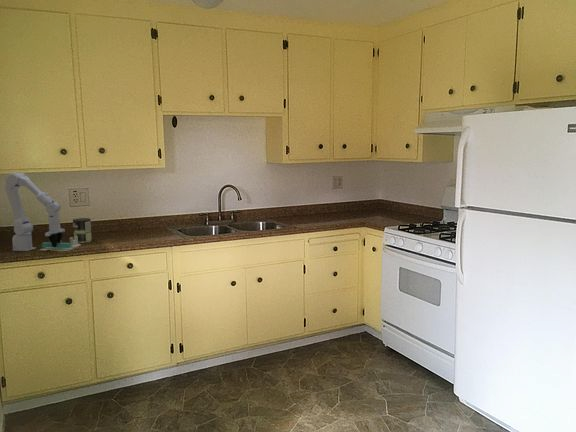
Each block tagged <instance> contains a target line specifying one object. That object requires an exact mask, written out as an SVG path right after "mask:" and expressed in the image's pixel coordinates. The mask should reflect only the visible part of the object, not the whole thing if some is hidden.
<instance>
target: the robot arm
mask: <svg viewBox="0 0 576 432" xmlns="http://www.w3.org/2000/svg"><path fill="white" fill-rule="evenodd" d="M5 183H6V184H5V193H6V195H7V198H8V201H9V205H10V207H11V211H12V213H13V217H14V221H13V232H14V233H15V234H14V235H13V236H12V239H11V240H12V241H11V242H12V251H13V252H15V251H16V252H29V251H31V250H36V247H33V237H32V232H33V231H34V225H33V223H31V221H30V219H29V217H27V216H26V213H25V209H24V207H23V204H22V200H21V198H20V195H19V193H18V190H19V189H20V187H25V188H26V189H27V190H29V191H30V192H31V193H32V194H33V195H34V196H36V200H37V201H38V202H39V203H40V204H41V205H42V206H43V207H44V208H45V211H46V212H47V216H48V218H47V219H48V231H47V232H45V233H44V236H45V237H47V238H48V240H49V241H50V242H51V244H52V246H53V247H57V243H62V239H63V237H64V233H65V232H66V230H65V228H61V216H60V210H61V209H62V206H61V204H60V203H59V201H56V200H55V199H53V198H52V197H50V195H49V193H48V192H45V191H41V190H40V188H39V187H37V186H36V184H35V183H33V182H32V180H31V179H30V177H29V176H27V175H26V174H25V173H24V172H16V173H13V172H12V173H9V174H8V175H7V176H6V177H5Z"/></svg>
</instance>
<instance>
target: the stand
mask: <svg viewBox="0 0 576 432" xmlns="http://www.w3.org/2000/svg"><path fill="white" fill-rule="evenodd" d="M69 243H70V247H69V248H73V249H76V248H79V247H81V246H82V245H81V244H82V243H78V236H74V235H73V237H69Z"/></svg>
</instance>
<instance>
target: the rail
mask: <svg viewBox="0 0 576 432" xmlns="http://www.w3.org/2000/svg"><path fill="white" fill-rule="evenodd" d="M41 246H42V248H46V247H49V248H69V247H70V242H61V243H57V247H53V246H52V244H51V241H50V242H45V241H44V242H42V243H41Z"/></svg>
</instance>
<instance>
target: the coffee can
mask: <svg viewBox="0 0 576 432" xmlns="http://www.w3.org/2000/svg"><path fill="white" fill-rule="evenodd" d="M91 220H92V219H91V218H88V217H87V218H85V217H84V218H83V217H80V218H73V219H72V227H73V237H74V236H78V244H82V243H83V244H84V243H91V242H92V241H93V240H92V225H91Z"/></svg>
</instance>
